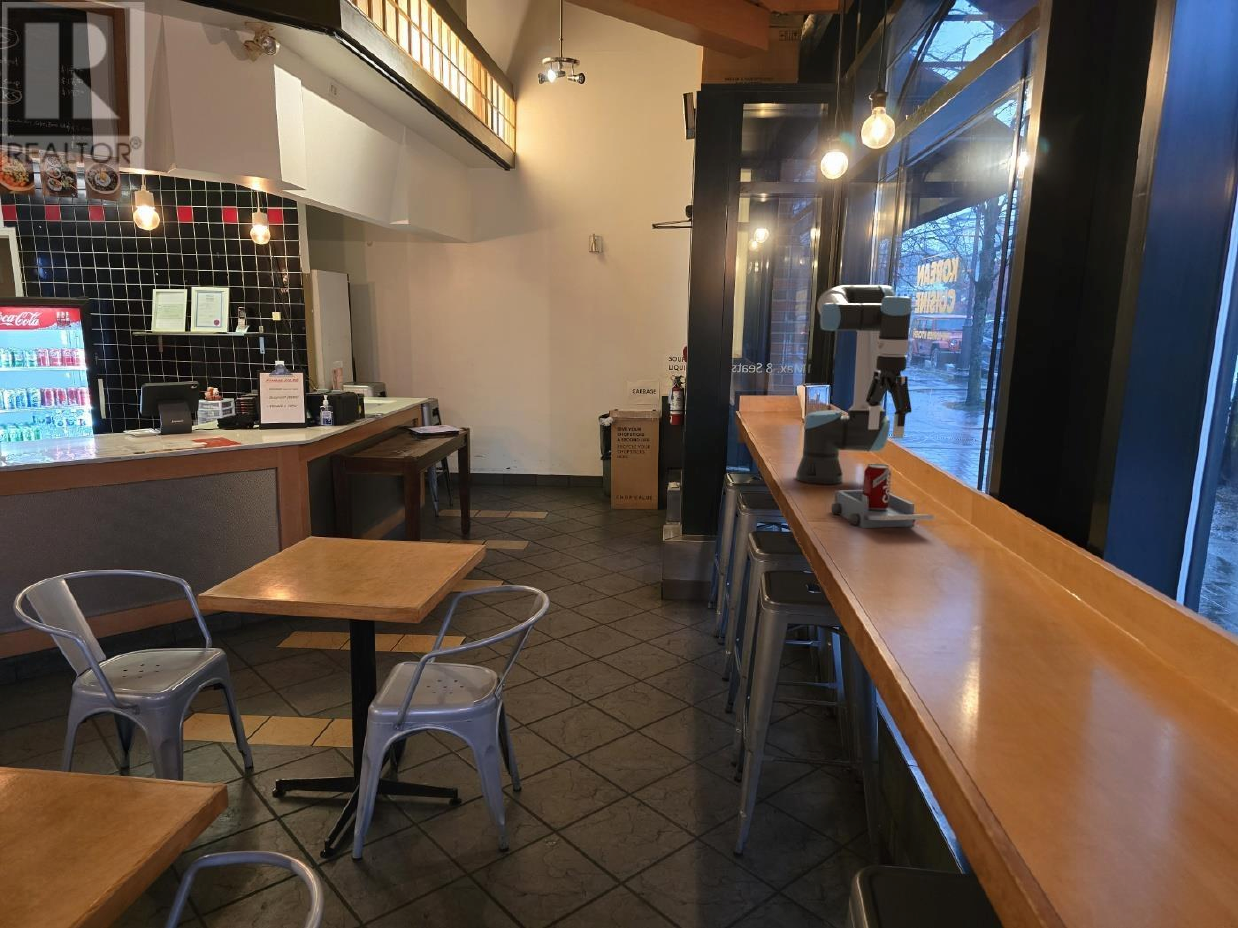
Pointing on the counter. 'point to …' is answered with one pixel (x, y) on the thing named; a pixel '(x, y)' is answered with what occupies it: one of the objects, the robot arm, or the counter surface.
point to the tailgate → (898, 517)
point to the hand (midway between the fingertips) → (885, 433)
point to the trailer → (855, 510)
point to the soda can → (876, 486)
